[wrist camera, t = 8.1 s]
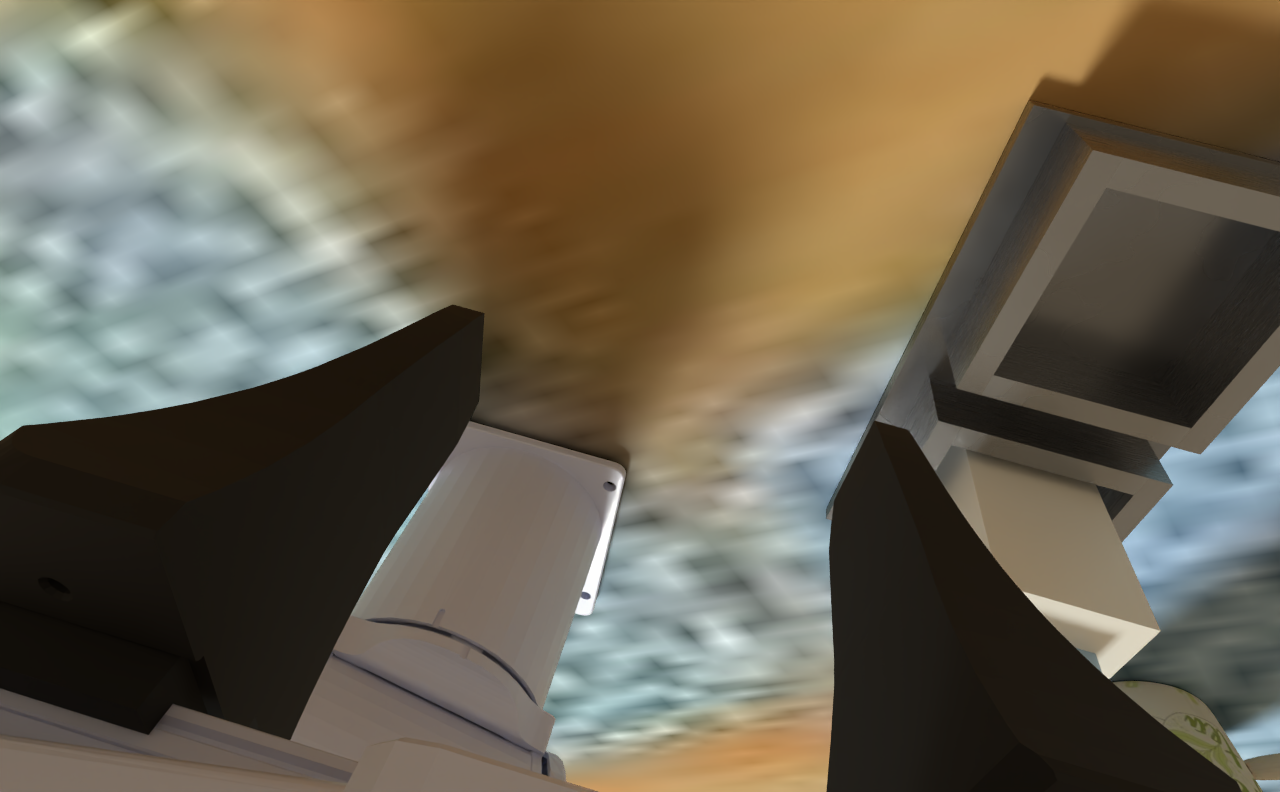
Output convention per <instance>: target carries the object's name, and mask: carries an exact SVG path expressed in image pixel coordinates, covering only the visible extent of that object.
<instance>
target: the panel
mask: <svg viewBox="0 0 1280 792" xmlns="http://www.w3.org/2000/svg"><path fill="white" fill-rule="evenodd" d="M1279 366H1280V162H1277V161H1273V160H1269V159H1265V158H1261V157H1257V156H1253V155H1249V154H1245V153H1241V152H1237V151H1233V150H1229V149H1225V148H1221V147H1217V146H1213V145H1209V144H1205V143H1201V142H1197V141H1193V140H1189V139H1185V138H1181V137H1177V136H1172V135H1168V134H1164V133H1160V132H1156V131H1152V130H1148V129H1144V128H1140V127H1136V126H1132V125H1128V124H1124V123H1120V122H1116V121H1112V120H1108V119H1104V118H1100V117H1096V116H1092V115H1088V114H1084V113H1080V112H1076V111H1072V110H1068V109H1063V108H1059V107H1055V106H1051V105H1047V104H1043V103H1039V102H1035V101H1031V100H1029V101H1028V103H1027V105H1026V108H1025V110H1024V112H1023V114H1022V116H1021V118H1020V120H1019V122H1018V124H1017V126H1016V128H1015V130H1014V132H1013V134H1012V136H1011V138H1010V140H1009V142H1008V144H1007V146H1006V148H1005V150H1004V152H1003V154H1002V156H1001V158H1000V160H999V162H998V164H997V166H996V168H995V170H994V172H993V174H992V176H991V178H990V180H989V182H988V184H987V186H986V188H985V190H984V192H983V194H982V196H981V198H980V200H979V202H978V204H977V206H976V208H975V210H974V212H973V214H972V216H971V218H970V220H969V222H968V224H967V226H966V229H965V231H964V233H963V235H962V237H961V239H960V241H959V243H958V245H957V247H956V249H955V251H954V253H953V255H952V257H951V259H950V261H949V263H948V265H947V267H946V269H945V271H944V273H943V275H942V277H941V279H940V281H939V283H938V285H937V287H936V289H935V291H934V293H933V295H932V297H931V299H930V301H929V303H928V305H927V307H926V309H925V311H924V313H923V315H922V317H921V319H920V321H919V323H918V325H917V327H916V329H915V331H914V333H913V335H912V337H911V339H910V341H909V343H908V345H907V348H906V350H905V352H904V354H903V356H902V358H901V360H900V362H899V364H898V366H897V368H896V370H895V372H894V374H893V376H892V378H891V380H890V382H889V384H888V386H887V388H886V390H885V392H884V394H883V396H882V398H881V400H880V402H879V404H878V406H877V408H876V410H875V412H874V414H873V416H872V418H871V420H870V422H869V424H868V426H867V428H866V430H865V432H864V434H863V436H862V438H861V440H860V442H859V444H858V446H857V448H856V450H855V452H854V454H853V456H852V458H851V460H850V462H849V464H848V467H847V469H846V471H845V473H844V475H843V477H842V479H841V481H840V483H839V485H838V487H837V489H836V491H835V493H834V495H833V497H832V499H831V501H830V503H829V505H828V507H827V509H826V519H829V520H832V513H833V504H834V500H835V498H836V496H837V494H838V492H839V490H840V488H841V486H842V484H843V482H844V480H845V478H846V476H847V474H848V472H849V470H850V468H851V466H852V464H853V462H854V460H855V458H856V456H857V454H858V452H859V450H860V448H861V446H862V444H863V442H864V440H865V438H866V436H867V434H868V432H869V430H870V428H871V426H872V424H873V422H874V420H875V421H878V422H882V423H886V424H889V425H893V426H896V427H900V428H904V429H907V430H909V431H910V433H911V434H912V436H913V437H914V439H915V440H916V442H917V444H918V445H919V447H920V448H921V450H922V452H923V453H924V455H925V456H926V458H927V460H928V461H929V463H930V464H931V466H932V468H933V469H934V471H936V470H937V468H938V466H939V465H940V463H941V461H942V460H943V458H944V456H945V455H946V453H947V451H948V450H949V448H950V446H951V445H953V446H957V447H960V448H964V449H967V450H971V451H975V452H978V453H982V454H986V455H989V456H993V457H997V458H1000V459H1004V460H1007V461H1011V462H1015V463H1018V464H1022V465H1026V466H1029V467H1033V468H1037V469H1040V470H1044V471H1048V472H1051V473H1055V474H1058V475H1062V476H1066V477H1069V478H1073V479H1077V480H1080V481H1084V482H1088V483H1091V484H1095V485H1096V487H1097V489H1098V491H1099V493H1100V496H1101V498H1102V500H1103V502H1104V505H1105V507H1106V509H1107V511H1108V514H1109V516H1110V518H1111V520H1112V523H1113V525H1114V527H1115V529H1116V532H1117V534H1118V536H1119V538H1120V541H1121V543H1122V542H1123V540H1124V539H1125V538H1126V537H1127V536H1128V535H1129V534H1130V533H1131V532H1132V530H1133V529H1134V528H1135V527H1136V526H1137V525H1138V524H1139V523H1140V521H1141V520H1142V519H1143V518H1144V517H1145V516H1146V515H1147V514H1148V513H1149V511H1150V510H1151V509H1152V508H1153V507H1154V506H1155V505H1156V504H1157V502H1158V501H1159V500H1160V499H1161V498H1162V497H1163V496H1164V495H1165V494H1166V492H1167V491H1168V490H1169V489H1170V488H1171V487H1172V486H1173V484H1172V482H1171V480H1170V479H1169V477H1168V475H1167V473H1166V472H1165V470H1164V468H1163V466H1162V465H1161V463H1160V461H1159V460H1160V459H1161V458H1162V456H1163V455H1164V454H1165V453H1166V452H1167V451H1168V449H1169V448H1170V447H1175V448H1179V449H1182V450H1186V451H1190V452H1194V453H1197V454H1201V453H1202V452H1203V451H1204V450H1205V449H1206V448H1207V447H1208V445H1209V444H1210V443H1211V442H1212V441H1213V440H1214V439H1215V438H1216V437H1217V435H1218V434H1219V433H1220V432H1221V431H1222V430H1223V429H1224V428H1225V426H1226V425H1227V424H1228V423H1229V422H1230V421H1231V420H1232V419H1233V418H1234V416H1235V415H1236V414H1237V413H1238V412H1239V411H1240V410H1241V409H1242V407H1243V406H1244V405H1245V404H1246V403H1247V402H1248V401H1249V400H1250V399H1251V397H1252V396H1253V395H1254V394H1255V393H1256V392H1257V391H1258V390H1259V388H1260V387H1261V386H1262V385H1263V384H1264V383H1265V382H1266V381H1267V380H1268V378H1269V377H1270V376H1271V375H1272V374H1273V373H1274V372H1275V371H1276V369H1277V368H1278V367H1279Z"/></svg>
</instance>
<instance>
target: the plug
mask: <svg viewBox="0 0 1280 792" xmlns="http://www.w3.org/2000/svg"><path fill="white" fill-rule="evenodd" d="M935 472H936V474H937V476H938V477H939V479H940V480H941V482H942V483H943V485H944V487H945V488H946V490H947V491H948V493H949V494H950V496H951V497H952V499H953V500H954V502H955V503H956V505H957V506H958V508H959V509H960V511H961V512H962V514H963V515H964V517H965V518H966V520H967V521H968V523H969V524H970V525H971V527H972V528H973V530H974V531H975V532H976V534H977V535H978V537H979V538H980V539H981V541H982V542H983V543H984V545H985V546H986V547H987V549H988V550H989V551H990V552H991V554H992V555H993V556H994V558H995V559H996V560H997V562H998V563H999V564H1000V566H1001V567H1002V568H1003V569H1004V571H1005V572H1006V573H1007V574H1008V575H1009V577H1010V578H1011V579H1012V580H1013V581H1014V583H1015V584H1016V585H1017V586H1018V587H1019V588H1020V589H1021V591H1022V592H1023V593H1024V594H1025V595H1026V596H1027V597H1028V598H1029V600H1030V601H1031V602H1032V603H1033V604H1034V605H1035V606H1036V608H1037V609H1038V610H1039V611H1040V612H1041V613H1042V614H1043V615H1044V616H1045V617H1046V618H1047V620H1048V621H1049V622H1050V623H1051V624H1052V625H1053V626H1054V627H1055V628H1056V629H1057V630H1058V631H1059V632H1060V633H1061V634H1062V635H1063V636H1064V637H1065V638H1066V639H1067V640H1068V641H1069V642H1070V643H1071V644H1072V645H1073V646H1074V647H1075V648H1076V649H1077V650H1078V651H1079V652H1080V653H1081V654H1082V655H1084V656H1085V657H1086V658H1087V659H1088V660H1089V661H1090V662H1091V663H1092V664H1093V665H1094V666H1095V667H1096V668H1097V669H1098V670H1099V671H1100V672H1102V673H1103V674H1104V675H1105V676H1106V677H1107V678H1108V679H1110V678H1111V677H1112V676H1113V675H1114V674H1115V673H1116V672H1117V671H1118V670H1119V669H1120V668H1122V667H1123V666H1124V665H1125V664H1126V663H1127V662H1128V661H1129V660H1130V659H1131V658H1132V657H1133V656H1134V655H1136V654H1137V653H1138V652H1139V651H1140V650H1141V649H1142V648H1143V647H1144V646H1145V645H1146V644H1147V643H1148V642H1149V641H1151V640H1152V639H1153V638H1154V637H1155V636H1156V635H1157V634H1158V633H1159V632H1160V631H1161V630H1160V628H1159V626H1158V624H1157V621H1156V619H1155V617H1154V615H1153V612H1152V610H1151V608H1150V606H1149V603H1148V601H1147V599H1146V597H1145V594H1144V592H1143V590H1142V588H1141V585H1140V583H1139V581H1138V579H1137V576H1136V574H1135V572H1134V570H1133V568H1132V565H1131V563H1130V561H1129V559H1128V556H1127V554H1126V552H1125V550H1124V547H1123V545H1122V543H1121V541H1120V538H1119V536H1118V534H1117V532H1116V529H1115V527H1114V525H1113V523H1112V520H1111V518H1110V516H1109V514H1108V511H1107V509H1106V507H1105V505H1104V502H1103V500H1102V498H1101V496H1100V493H1099V491H1098V489H1097V487H1096V485H1095V484H1091V483H1088V482H1084V481H1080V480H1077V479H1073V478H1069V477H1066V476H1062V475H1058V474H1055V473H1051V472H1048V471H1044V470H1040V469H1037V468H1033V467H1029V466H1026V465H1022V464H1018V463H1015V462H1011V461H1007V460H1004V459H1000V458H997V457H993V456H989V455H986V454H982V453H978V452H975V451H971V450H967V449H964V448H960V447H957V446H953V445H951V446H950V448H949V450H948V451H947V453H946V455H945V456H944V458H943V460H942V461H941V463H940V465H939V466H938V468H937V470H936V471H935Z"/></svg>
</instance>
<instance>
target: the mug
mask: <svg viewBox="0 0 1280 792" xmlns="http://www.w3.org/2000/svg"><path fill="white" fill-rule="evenodd" d="M1113 683H1114V684H1115V685H1116V686H1117V687H1118V688H1119V689H1121V690H1122V691H1123V692H1124V693H1125V694H1126V695H1128V696H1129V697H1130V698H1131V699H1132V700H1133V701H1135V702H1136V703H1137V704H1138V705H1139V706H1141V707H1142V708H1143V709H1144V710H1145V711H1146V712H1148V713H1149V714H1150V715H1151V716H1152V717H1153V718H1155V719H1156V720H1157V721H1158V722H1160V723H1161V724H1162V725H1163V726H1164V727H1166V728H1167V729H1168V730H1170V731H1171V732H1172V733H1174V734H1175V735H1176V736H1178V737H1179V738H1180V739H1182V740H1183V741H1184V742H1185V743H1187V744H1188V745H1189V746H1191V747H1192V748H1193V749H1195V750H1196V751H1197V752H1199V753H1200V754H1201V755H1203V756H1204V757H1205V758H1206V759H1208V760H1209V761H1210V762H1212V763H1213V764H1214V765H1216V766H1217V767H1218V768H1220V769H1221V770H1222V771H1224V772H1225V773H1226V774H1227V775H1229V776H1230V777H1231V778H1233V779H1234V780H1235V781H1237V783H1238V785H1239V787H1240V789H1241V791H1242V792H1263V791H1262V790H1261V788H1260V786H1259V785H1258V783H1257V782H1256V780H1280V753H1278V754H1271V755H1265V756H1259V757H1255V758H1251V759H1247V760H1244V761H1243V760H1242V758H1241V757H1240V755H1239V753H1238V752H1237V750H1236V749H1235V747H1234V746H1233V744H1232V742H1231V741H1230V739H1229V738H1228V736H1227V735H1226V733H1225V732H1224V730H1223V728H1222V727H1221V725H1220V724H1219V722H1218V721H1217V719H1216V718H1215V716H1214V715H1213V713H1212V712H1211V711H1210V709H1209V708H1208V707H1207V706H1206V705H1205V704H1204V703H1203V702H1202V701H1201V700H1199V699H1198V698H1197V697H1195V696H1194V695H1192V694H1190V693H1188V692H1186V691H1184V690H1181V689H1178V688H1176V687H1172V686H1169V685H1164V684H1160V683H1153V682H1143V681H1121V682H1113Z"/></svg>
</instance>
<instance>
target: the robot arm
mask: <svg viewBox="0 0 1280 792" xmlns="http://www.w3.org/2000/svg"><path fill="white" fill-rule="evenodd" d="M483 328H484V313H481V312H478V311H474V310H470V309H467V308H463V307H460V306H456V305H451V306H448V307H446V308H444V309H441V310H439V311H437V312H435V313H433V314H431V315H429V316H427V317H425V318H423V319H421V320H419V321H417V322H415V323H413V324H411V325H409V326H407V327H405V328H403V329H401V330H399V331H397V332H394V333H392V334H390V335H388V336H386V337H384V338H382V339H380V340H378V341H376V342H373V343H371V344H369V345H367V346H365V347H363V348H360V349H358V350H355V351H353V352H351V353H348V354H346V355H343V356H341V357H339V358H336V359H334V360H331V361H329V362H327V363H324V364H322V365H320V366H317V367H314V368H312V369H309V370H306V371H304V372H301V373H298V374H295V375H292V376H289V377H286V378H283V379H280V380H277V381H273V382H270V383H267V384H264V385H261V386H257V387H254V388H250V389H246V390H242V391H238V392H234V393H230V394H226V395H222V396H218V397H214V398H210V399H206V400H202V401H198V402H193V403H188V404H183V405H178V406H173V407H168V408H162V409H157V410H151V411H145V412H138V413H132V414H126V415H119V416H112V417H104V418H95V419H86V420H76V421H67V422H57V423H48V424H37V425H25V426H22V427H20V428H19V429H17V430H16V431H14V432H13V433H11V434H10V435H8V436H7V437H5V438H4V439H3V440H1V441H0V792H598V791H594V790H591V789H588V788H585V787H581V786H578V785H575V784H572V783H568V782H567V781H566V773H565V768H564V765H563V761H562V760H561V759H560V758H559V757H558V756H557V755H555V754H552V753H550V752H547V751H545V750H546V747H547V744H548V741H549V738H550V735H551V731H552V728H553V725H554V722H555V718H554V716H552V715H551V714H549V713H547V712H545V711H544V710H542V709H543V706H544V703H545V700H546V697H547V694H548V691H549V688H550V685H551V682H552V679H553V676H554V673H555V670H556V667H557V664H558V661H559V658H560V656H561V653H562V650H563V647H564V644H565V641H566V638H567V635H568V632H569V629H570V626H571V623H572V620H573V617H574V614H575V613H577V614H580V615H589V614H591V613H592V612H593V609H594V606H595V602H596V598H597V594H598V590H599V585H600V581H601V577H602V573H603V569H604V565H605V560H606V556H607V552H608V548H609V544H610V540H611V535H612V531H613V527H614V523H615V519H616V515H617V510H618V506H619V502H620V498H621V494H622V490H623V485H624V481H625V477H626V471H625V469H624V467H623V466H621V465H620V464H618V463H616V462H612V461H609V460H605V459H602V458H598V457H595V456H591V455H588V454H584V453H581V452H577V451H574V450H570V449H566V448H563V447H559V446H556V445H552V444H549V443H545V442H542V441H538V440H535V439H531V438H528V437H524V436H521V435H517V434H514V433H510V432H506V431H503V430H499V429H496V428H492V427H489V426H485V425H482V424H478V423H475V422H471V421H470V419H471V417H472V414H473V412H474V410H475V408H476V406H477V404H478V402H479V393H480V376H481V360H482V344H483ZM607 482H612V483H614V484H615V485H611V484H609V483H607ZM427 488H428V493H427V495H426V497H425V498H424V500H423V501H422V503H421V504H420V506H419V507H418V509H417V511H416V512H415V514H414V515H413V517H412V518H411V520H410V521H409V523H408V525H407V526H406V528H405V529H404V531H403V532H402V534H401V535H400V537H399V539H398V540H397V542H396V543H395V545H394V546H393V548H392V549H391V551H390V553H389V554H388V556H387V557H386V559H385V560H384V562H383V563H382V565H381V567H380V568H379V570H378V571H377V573H376V574H375V576H374V577H373V579H372V581H371V582H370V584H369V585H368V587H367V588H366V590H365V591H364V593H363V595H362V596H361V594H362V592H363V590H364V588H365V586H366V585H367V583H368V581H369V579H370V577H371V575H372V574H373V572H374V570H375V568H376V566H377V564H378V562H379V561H380V559H381V557H382V555H383V553H384V552H385V550H386V548H387V547H388V545H389V544H390V542H391V540H392V539H393V537H394V536H395V534H396V532H397V531H398V530H399V528H400V527H401V525H402V524H403V522H404V521H405V520H406V518H407V517H408V515H409V514H410V512H411V511H412V509H413V508H414V507H415V505H416V504H417V502H418V501H419V499H420V498H421V497H422V495H423V494H424V492H425V491H426V489H427ZM829 560H830V584H831V605H832V625H833V645H834V699H833V715H832V731H831V745H830V757H829V769H828V781H827V792H1242V791H1241V789H1240V787H1239V785H1238V783H1237V781H1235V780H1234V779H1233V778H1231V777H1230V776H1229V775H1227V774H1226V773H1225V772H1224V771H1222V770H1221V769H1220V768H1218V767H1217V766H1216V765H1214V764H1213V763H1212V762H1210V761H1209V760H1208V759H1206V758H1205V757H1204V756H1203V755H1201V754H1200V753H1199V752H1197V751H1196V750H1195V749H1193V748H1192V747H1191V746H1189V745H1188V744H1187V743H1185V742H1184V741H1183V740H1182V739H1180V738H1179V737H1178V736H1176V735H1175V734H1174V733H1172V732H1171V731H1170V730H1168V729H1167V728H1166V727H1164V726H1163V725H1162V724H1161V723H1160V722H1158V721H1157V720H1156V719H1155V718H1153V717H1152V716H1151V715H1150V714H1149V713H1148V712H1146V711H1145V710H1144V709H1143V708H1142V707H1141V706H1139V705H1138V704H1137V703H1136V702H1135V701H1133V700H1132V699H1131V698H1130V697H1129V696H1128V695H1126V694H1125V693H1124V692H1123V691H1122V690H1121V689H1119V688H1118V687H1117V686H1116V685H1115V684H1114V683H1113V682H1112V681H1110V680H1109V679H1108V678H1107V677H1106V676H1105V675H1104V674H1103V673H1102V672H1100V671H1099V670H1098V669H1097V668H1096V667H1095V666H1094V665H1093V664H1092V663H1091V662H1090V661H1089V660H1088V659H1087V658H1086V657H1085V656H1084V655H1082V654H1081V653H1080V652H1079V651H1078V650H1077V649H1076V648H1075V647H1074V646H1073V645H1072V644H1071V643H1070V642H1069V641H1068V640H1067V639H1066V638H1065V637H1064V636H1063V635H1062V634H1061V633H1060V632H1059V631H1058V630H1057V629H1056V628H1055V627H1054V626H1053V625H1052V624H1051V623H1050V622H1049V621H1048V620H1047V618H1046V617H1045V616H1044V615H1043V614H1042V613H1041V612H1040V611H1039V610H1038V609H1037V608H1036V606H1035V605H1034V604H1033V603H1032V602H1031V601H1030V600H1029V598H1028V597H1027V596H1026V595H1025V594H1024V593H1023V592H1022V591H1021V589H1020V588H1019V587H1018V586H1017V585H1016V584H1015V583H1014V581H1013V580H1012V579H1011V578H1010V577H1009V575H1008V574H1007V573H1006V572H1005V571H1004V569H1003V568H1002V567H1001V566H1000V564H999V563H998V562H997V560H996V559H995V558H994V556H993V555H992V554H991V552H990V551H989V550H988V549H987V547H986V546H985V545H984V543H983V542H982V541H981V539H980V538H979V537H978V535H977V534H976V532H975V531H974V530H973V528H972V527H971V525H970V524H969V523H968V521H967V520H966V518H965V517H964V515H963V514H962V512H961V511H960V509H959V508H958V506H957V505H956V503H955V502H954V500H953V499H952V497H951V496H950V494H949V493H948V491H947V490H946V488H945V487H944V485H943V483H942V482H941V480H940V479H939V477H938V476H937V474H936V472H935V471H934V469H933V468H932V466H931V464H930V463H929V461H928V460H927V458H926V456H925V455H924V453H923V452H922V450H921V448H920V447H919V445H918V444H917V442H916V440H915V439H914V437H913V436H912V434H911V433H910V431H909V430H907V429H904V428H900V427H896V426H893V425H889V424H886V423H882V422H878V421H875V420H874V422H873V424H872V426H871V428H870V430H869V432H868V434H867V436H866V438H865V440H864V442H863V444H862V446H861V448H860V450H859V452H858V454H857V456H856V458H855V460H854V462H853V464H852V466H851V468H850V470H849V472H848V474H847V476H846V478H845V480H844V482H843V484H842V486H841V488H840V490H839V492H838V494H837V496H836V498H835V500H834V504H833V513H832V523H831V534H830V546H829ZM360 596H361V598H360ZM359 598H360V599H359ZM358 600H359V601H358ZM357 601H358V602H357ZM356 603H357V604H356Z"/></svg>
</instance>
